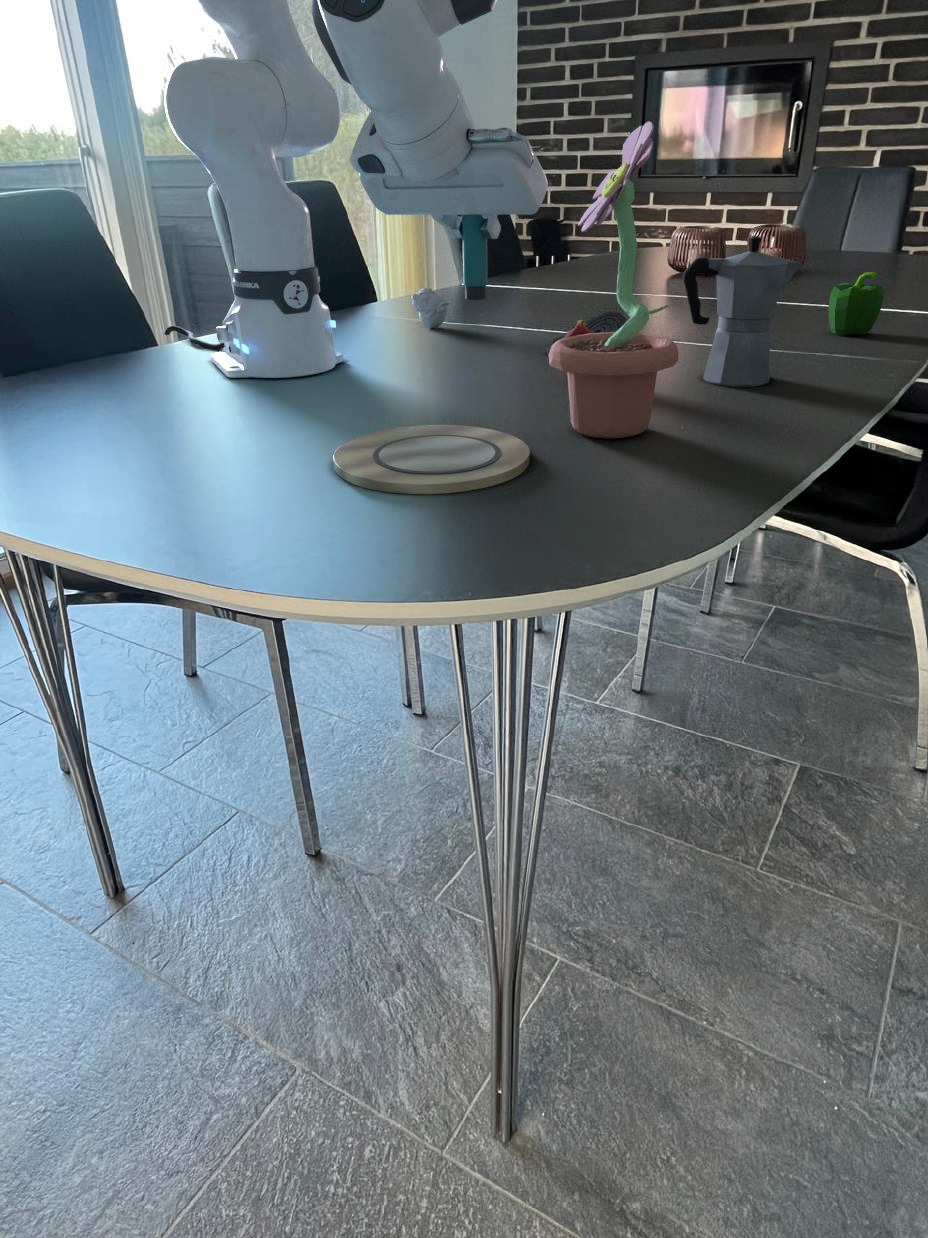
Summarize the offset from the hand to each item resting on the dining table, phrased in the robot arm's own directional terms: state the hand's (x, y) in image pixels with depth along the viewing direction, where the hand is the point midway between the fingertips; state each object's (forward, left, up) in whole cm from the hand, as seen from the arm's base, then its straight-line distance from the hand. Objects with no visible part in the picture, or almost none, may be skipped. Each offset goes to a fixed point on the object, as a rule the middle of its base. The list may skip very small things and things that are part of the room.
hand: (477, 233), depth 95 cm
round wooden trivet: (+14, -17, -20) cm, 30 cm away
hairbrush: (-23, +39, -20) cm, 49 cm away
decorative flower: (+17, +5, -20) cm, 27 cm away
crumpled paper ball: (-53, +28, -20) cm, 63 cm away
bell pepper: (+1, +78, -20) cm, 81 cm away
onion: (-3, +19, -20) cm, 28 cm away
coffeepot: (+10, +35, -20) cm, 42 cm away
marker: (0, -1, -7) cm, 7 cm away
